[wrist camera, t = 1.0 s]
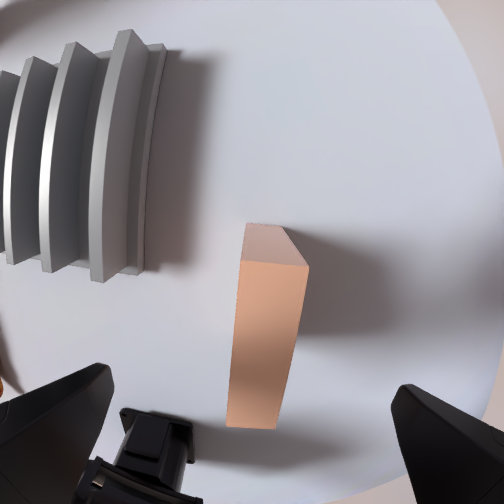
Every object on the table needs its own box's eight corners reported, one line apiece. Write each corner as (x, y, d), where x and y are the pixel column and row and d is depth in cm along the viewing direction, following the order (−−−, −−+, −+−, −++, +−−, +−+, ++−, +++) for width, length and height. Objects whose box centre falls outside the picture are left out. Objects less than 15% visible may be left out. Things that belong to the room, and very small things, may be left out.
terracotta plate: (266, 335, 17) (274, 429, 10) (235, 332, 17) (225, 426, 10) (281, 226, 16) (309, 266, 8) (246, 222, 16) (240, 260, 8)
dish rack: (143, 270, 16) (116, 294, 12) (10, 249, 16) (-23, 262, 12) (167, 50, 13) (146, 19, 9) (24, 80, 13) (-7, 69, 9)
